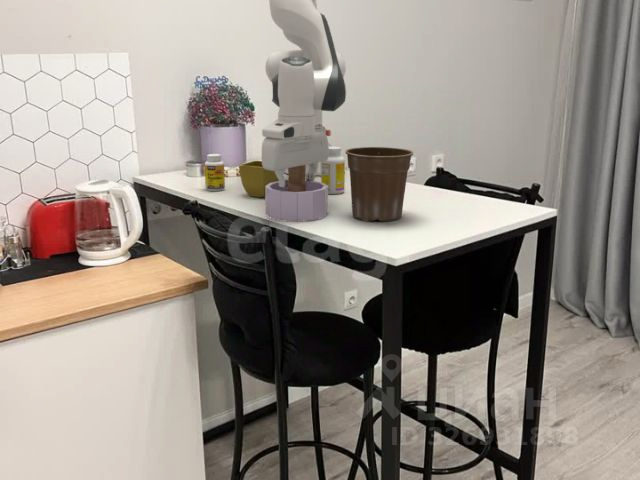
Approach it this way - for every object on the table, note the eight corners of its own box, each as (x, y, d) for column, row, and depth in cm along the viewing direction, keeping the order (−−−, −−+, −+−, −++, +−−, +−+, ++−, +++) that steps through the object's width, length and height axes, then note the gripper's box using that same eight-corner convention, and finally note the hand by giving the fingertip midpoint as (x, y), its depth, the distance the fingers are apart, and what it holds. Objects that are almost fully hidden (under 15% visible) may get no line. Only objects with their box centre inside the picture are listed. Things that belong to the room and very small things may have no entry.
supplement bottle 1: (205, 192, 185) (203, 156, 182) (206, 188, 190) (204, 153, 187) (225, 191, 185) (223, 156, 183) (225, 187, 191) (223, 153, 188)
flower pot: (238, 196, 179) (237, 164, 177) (256, 190, 187) (255, 160, 184) (265, 200, 175) (264, 167, 173) (282, 194, 183) (281, 162, 180)
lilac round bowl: (296, 203, 171) (296, 177, 169) (339, 213, 162) (339, 185, 160) (254, 213, 161) (253, 186, 159) (297, 224, 151) (297, 195, 149)
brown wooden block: (296, 208, 163) (296, 153, 159) (305, 210, 161) (305, 154, 157) (288, 210, 161) (288, 154, 157) (297, 212, 159) (296, 155, 155)
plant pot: (369, 205, 170) (371, 144, 166) (422, 215, 160) (426, 150, 156) (331, 217, 158) (331, 151, 153) (386, 228, 148) (388, 158, 144)
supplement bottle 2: (345, 190, 188) (345, 146, 184) (343, 195, 182) (344, 149, 178) (322, 189, 189) (322, 145, 185) (320, 194, 182) (320, 149, 179)
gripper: (316, 122, 164) (316, 175, 168) (256, 130, 150) (258, 188, 154) (334, 124, 160) (334, 179, 164) (275, 132, 146) (276, 192, 150)
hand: (297, 183), depth 159 cm, fingers open, 8 cm apart
